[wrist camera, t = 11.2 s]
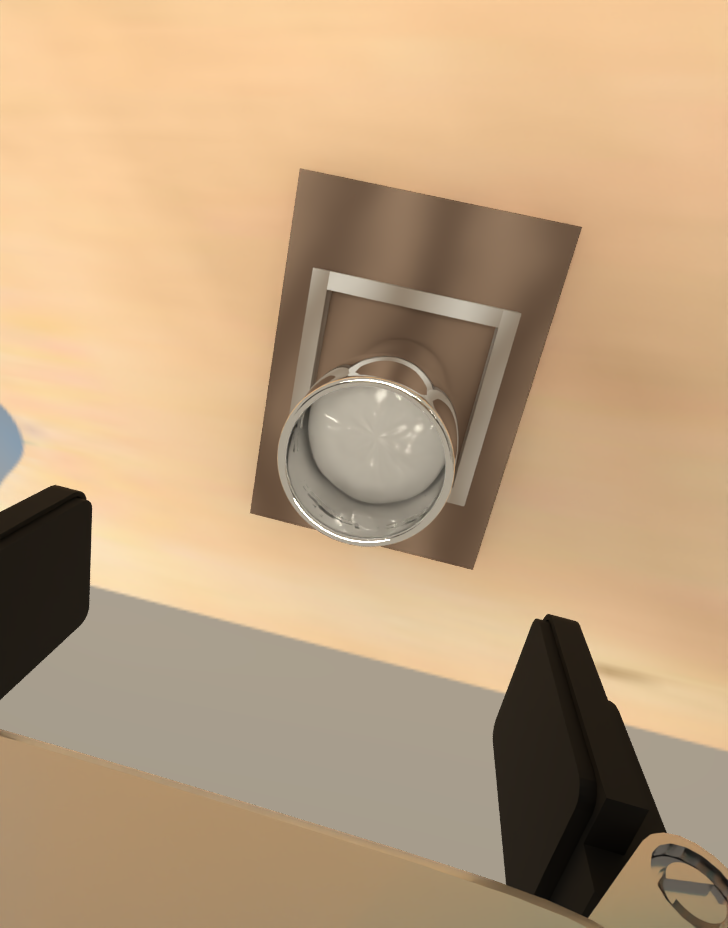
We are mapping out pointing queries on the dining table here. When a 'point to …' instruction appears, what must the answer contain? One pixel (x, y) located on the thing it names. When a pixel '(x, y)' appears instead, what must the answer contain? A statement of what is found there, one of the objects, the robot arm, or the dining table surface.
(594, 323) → the dining table surface
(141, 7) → the dining table surface
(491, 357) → the walnut board
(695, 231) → the dining table surface
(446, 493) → the beer glass
